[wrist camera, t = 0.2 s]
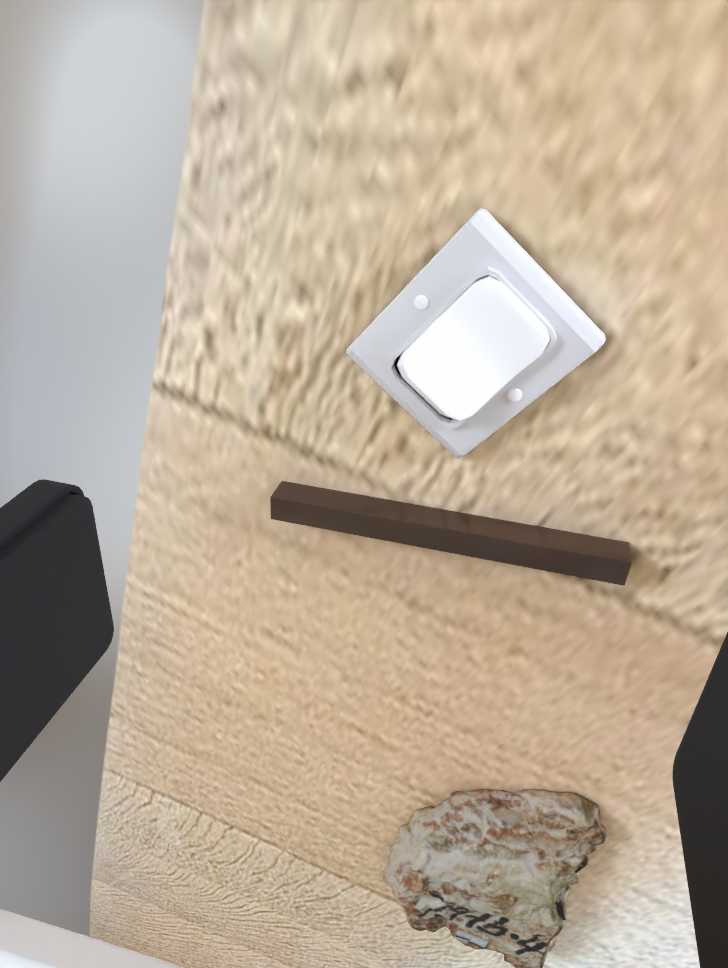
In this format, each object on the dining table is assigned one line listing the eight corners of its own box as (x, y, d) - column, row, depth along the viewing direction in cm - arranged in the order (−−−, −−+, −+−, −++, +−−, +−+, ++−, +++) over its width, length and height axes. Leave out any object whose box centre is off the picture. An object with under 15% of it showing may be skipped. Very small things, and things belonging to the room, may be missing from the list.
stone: (363, 929, 74) (423, 797, 60) (376, 875, 78) (433, 741, 64) (540, 995, 72) (644, 875, 58) (542, 936, 77) (638, 812, 63)
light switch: (330, 368, 45) (472, 218, 38) (349, 345, 48) (484, 203, 41) (449, 481, 47) (607, 358, 39) (460, 451, 50) (607, 333, 43)
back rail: (281, 480, 54) (270, 496, 52) (629, 542, 49) (631, 563, 47) (281, 502, 55) (270, 519, 53) (622, 564, 51) (624, 585, 48)
